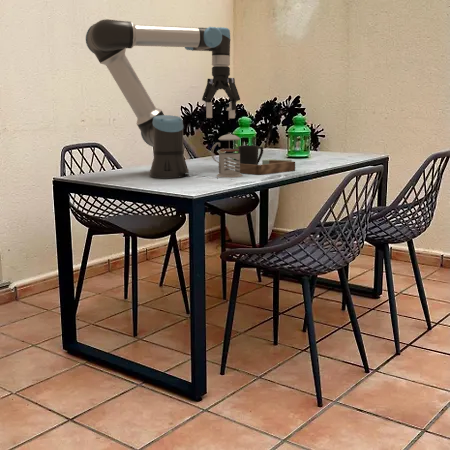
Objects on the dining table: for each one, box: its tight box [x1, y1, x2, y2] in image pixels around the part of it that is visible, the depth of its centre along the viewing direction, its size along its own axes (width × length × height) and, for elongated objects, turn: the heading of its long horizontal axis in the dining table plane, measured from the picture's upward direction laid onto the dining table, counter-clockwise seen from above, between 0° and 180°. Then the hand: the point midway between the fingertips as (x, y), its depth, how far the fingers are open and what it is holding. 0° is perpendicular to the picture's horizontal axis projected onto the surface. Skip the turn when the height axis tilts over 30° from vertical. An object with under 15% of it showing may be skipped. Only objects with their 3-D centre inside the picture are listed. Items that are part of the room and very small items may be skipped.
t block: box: [261, 158, 293, 165], centre depth 269 cm, size 8×11×3 cm
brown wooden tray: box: [234, 159, 296, 176], centre depth 250 cm, size 21×13×4 cm, turn 134°
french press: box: [210, 107, 244, 178], centre depth 235 cm, size 10×12×25 cm
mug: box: [237, 145, 264, 165], centre depth 259 cm, size 8×12×10 cm
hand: (220, 118), depth 269 cm, fingers open, 13 cm apart
